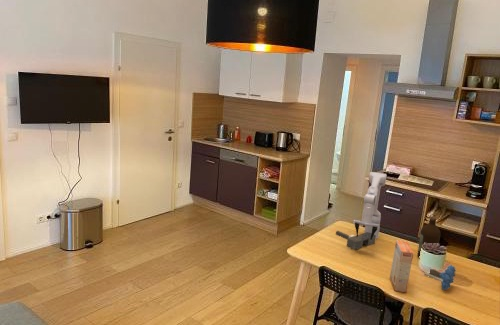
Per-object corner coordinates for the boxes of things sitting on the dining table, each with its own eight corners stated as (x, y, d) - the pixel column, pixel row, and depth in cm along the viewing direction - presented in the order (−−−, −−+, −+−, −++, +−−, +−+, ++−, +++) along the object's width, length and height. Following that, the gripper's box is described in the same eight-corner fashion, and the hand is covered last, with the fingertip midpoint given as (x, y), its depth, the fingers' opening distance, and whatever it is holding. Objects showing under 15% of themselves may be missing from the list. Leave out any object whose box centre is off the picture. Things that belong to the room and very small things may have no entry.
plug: (338, 233, 250) (339, 228, 249) (357, 241, 239) (358, 236, 238) (334, 234, 248) (335, 229, 247) (353, 243, 236) (354, 238, 235)
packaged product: (437, 257, 213) (456, 264, 207) (435, 265, 214) (454, 272, 208) (425, 267, 201) (445, 274, 194) (423, 275, 202) (443, 283, 195)
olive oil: (434, 256, 226) (442, 216, 220) (436, 263, 216) (444, 222, 211) (415, 252, 229) (422, 213, 224) (416, 259, 219) (423, 218, 214)
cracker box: (407, 293, 182) (414, 252, 177) (393, 291, 183) (400, 250, 178) (401, 279, 195) (408, 241, 191) (389, 277, 196) (395, 239, 192)
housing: (366, 239, 243) (367, 232, 242) (374, 243, 238) (375, 235, 237) (346, 246, 231) (347, 238, 229) (354, 250, 226) (355, 241, 225)
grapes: (441, 281, 196) (445, 259, 194) (455, 286, 191) (460, 264, 189) (432, 288, 188) (437, 266, 186) (447, 294, 184) (451, 271, 181)
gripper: (354, 213, 216) (350, 236, 217) (381, 218, 211) (377, 242, 213) (354, 211, 222) (351, 234, 223) (380, 216, 218) (377, 239, 219)
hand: (364, 238), depth 218 cm, fingers open, 7 cm apart
